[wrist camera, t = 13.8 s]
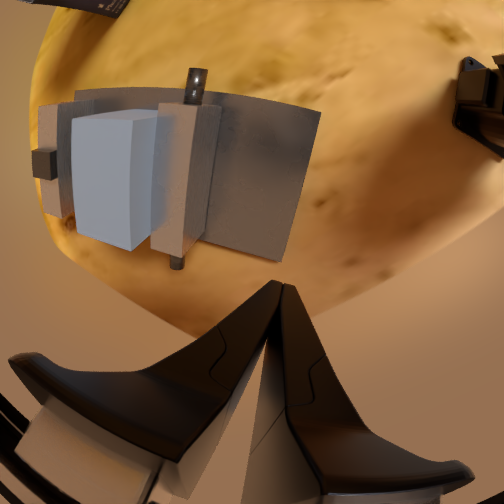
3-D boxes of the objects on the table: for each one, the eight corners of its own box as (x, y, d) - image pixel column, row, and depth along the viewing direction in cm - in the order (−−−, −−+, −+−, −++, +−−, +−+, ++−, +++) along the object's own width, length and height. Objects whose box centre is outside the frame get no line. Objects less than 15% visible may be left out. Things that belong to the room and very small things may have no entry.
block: (189, 113, 18) (133, 120, 12) (178, 210, 22) (131, 251, 16) (134, 109, 18) (72, 118, 12) (130, 198, 22) (77, 232, 16)
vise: (320, 112, 17) (324, 112, 11) (282, 256, 23) (270, 304, 18) (82, 90, 19) (32, 96, 13) (80, 200, 25) (39, 225, 20)
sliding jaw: (228, 74, 16) (204, 66, 12) (201, 255, 23) (180, 285, 20) (195, 71, 16) (164, 64, 12) (175, 247, 24) (151, 275, 20)
